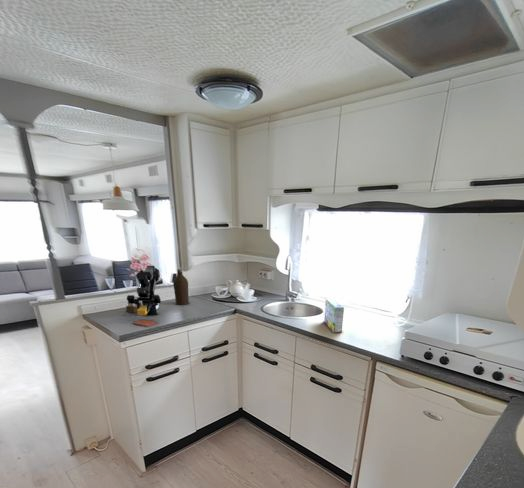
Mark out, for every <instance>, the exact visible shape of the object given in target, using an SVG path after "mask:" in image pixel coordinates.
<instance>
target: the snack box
mask: <svg viewBox="0 0 524 488" xmlns="http://www.w3.org/2000/svg"><path fill="white" fill-rule="evenodd" d="M324 304H325V307H324V319H323V321H324V323H325V325H326V326H327V327H328V328H329V329H330V331H331V332H332V333H342V332H343V321H344V320H343V319H344V311H345V307H344V306H343V305H342V304H341V303H340V302H338V301H337V300H336V299H335V298H325V303H324Z"/></svg>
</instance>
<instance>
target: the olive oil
mask: <svg viewBox="0 0 524 488" xmlns="http://www.w3.org/2000/svg"><path fill="white" fill-rule="evenodd" d="M176 273H177V275H176V276H175V278H174V279H173V281H172V284H173V285H172V286H173V291H174V292H173V293H174V299H175V300H174V301H175V305H178V306H185V305H189V303H190V299H189V298H190V297H189V281H188V279H187V278H186V276H185V275H183V270H182V269H181V268H178V269H177V272H176Z"/></svg>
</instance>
